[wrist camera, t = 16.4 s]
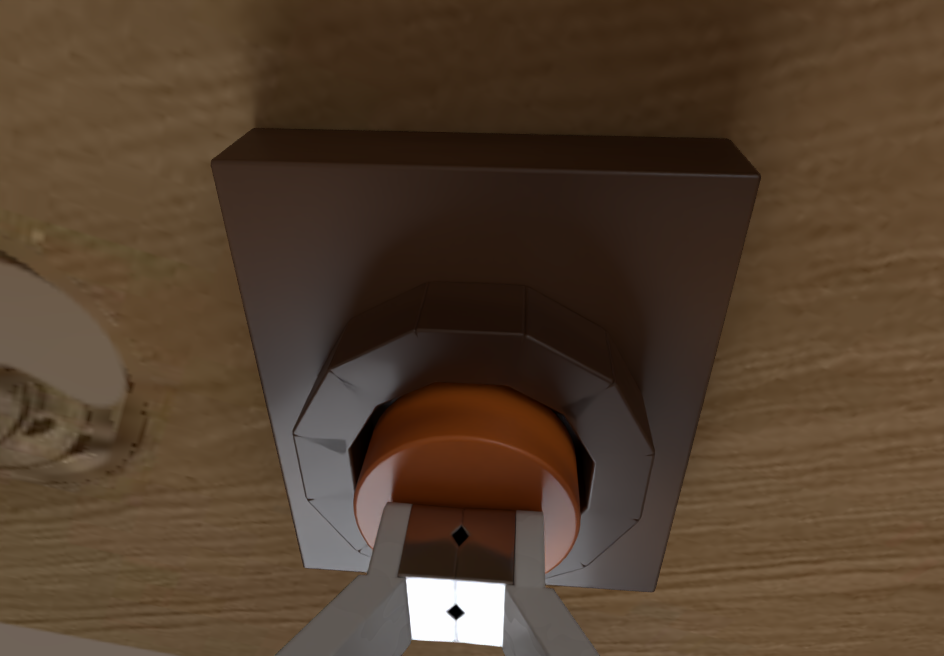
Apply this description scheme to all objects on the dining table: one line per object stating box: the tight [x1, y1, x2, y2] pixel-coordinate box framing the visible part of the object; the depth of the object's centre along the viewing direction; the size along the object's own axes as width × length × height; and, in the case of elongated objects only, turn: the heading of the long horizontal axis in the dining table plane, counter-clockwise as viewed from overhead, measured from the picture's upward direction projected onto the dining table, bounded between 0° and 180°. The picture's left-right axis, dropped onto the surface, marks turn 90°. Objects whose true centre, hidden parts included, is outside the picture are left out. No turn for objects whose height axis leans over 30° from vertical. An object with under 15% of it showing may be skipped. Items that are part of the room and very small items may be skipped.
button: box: [353, 382, 581, 574], centre depth 13 cm, size 4×4×2 cm
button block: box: [211, 128, 761, 592], centre depth 15 cm, size 12×10×4 cm
